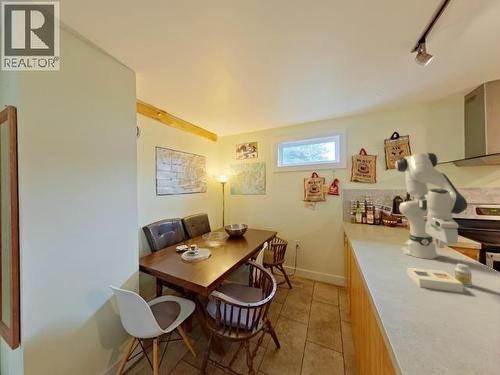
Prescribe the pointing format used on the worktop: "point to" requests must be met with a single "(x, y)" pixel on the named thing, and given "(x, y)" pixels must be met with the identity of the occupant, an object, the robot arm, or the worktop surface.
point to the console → (435, 280)
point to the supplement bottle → (463, 275)
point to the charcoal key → (421, 274)
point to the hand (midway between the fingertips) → (439, 247)
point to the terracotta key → (442, 276)
